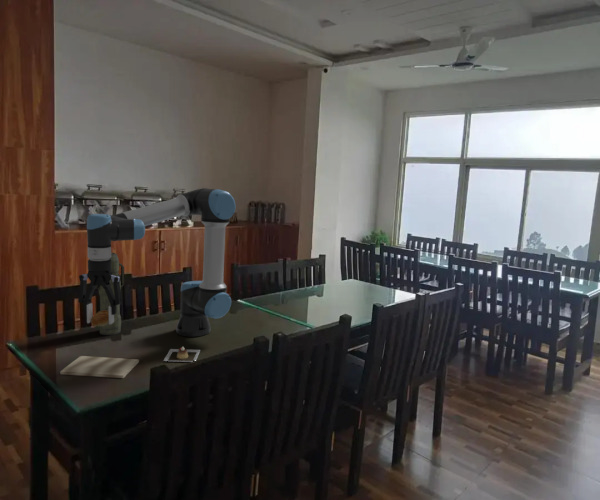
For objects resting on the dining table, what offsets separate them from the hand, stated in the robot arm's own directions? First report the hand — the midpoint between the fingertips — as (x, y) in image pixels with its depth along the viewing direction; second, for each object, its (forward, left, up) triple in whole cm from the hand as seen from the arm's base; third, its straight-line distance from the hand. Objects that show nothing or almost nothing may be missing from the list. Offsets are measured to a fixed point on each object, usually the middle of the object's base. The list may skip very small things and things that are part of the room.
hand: (100, 322), depth 162 cm
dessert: (-25, -15, -18) cm, 34 cm away
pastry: (0, -1, -1) cm, 1 cm away
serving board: (0, 0, -17) cm, 17 cm away
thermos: (+13, -37, -17) cm, 43 cm away
